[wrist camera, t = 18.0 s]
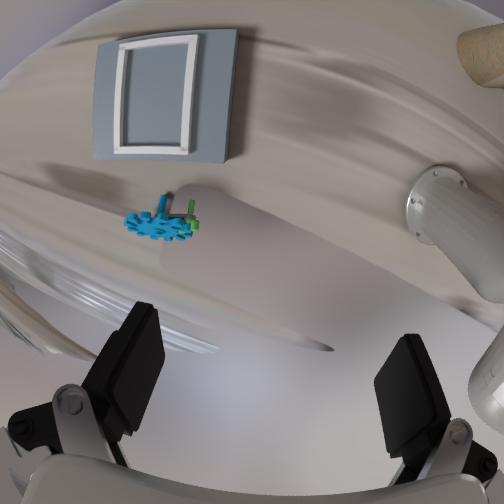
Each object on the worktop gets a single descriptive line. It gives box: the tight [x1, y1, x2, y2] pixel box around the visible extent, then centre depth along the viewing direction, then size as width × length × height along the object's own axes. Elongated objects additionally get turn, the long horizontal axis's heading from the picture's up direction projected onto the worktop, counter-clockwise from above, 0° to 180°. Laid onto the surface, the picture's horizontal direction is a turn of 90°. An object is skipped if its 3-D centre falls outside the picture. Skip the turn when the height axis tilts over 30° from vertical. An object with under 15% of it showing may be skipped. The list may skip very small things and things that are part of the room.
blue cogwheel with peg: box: [124, 195, 199, 241], centre depth 38 cm, size 11×6×10 cm
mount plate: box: [93, 29, 239, 163], centre depth 30 cm, size 20×18×4 cm
